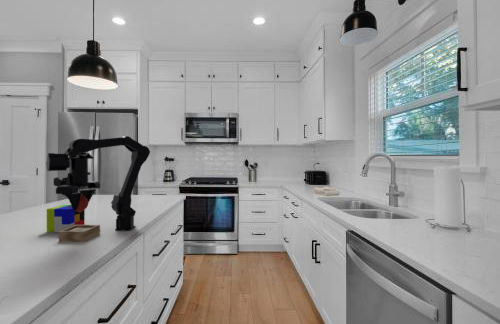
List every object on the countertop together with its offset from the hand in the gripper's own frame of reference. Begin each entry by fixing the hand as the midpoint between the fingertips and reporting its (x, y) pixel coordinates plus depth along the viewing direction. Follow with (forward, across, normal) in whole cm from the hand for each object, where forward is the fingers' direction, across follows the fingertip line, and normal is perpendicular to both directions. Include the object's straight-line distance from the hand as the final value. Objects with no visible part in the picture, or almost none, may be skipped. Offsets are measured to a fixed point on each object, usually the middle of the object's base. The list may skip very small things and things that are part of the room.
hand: (80, 208), depth 104 cm
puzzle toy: (+12, -13, -15) cm, 23 cm away
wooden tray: (+12, 0, 0) cm, 12 cm away
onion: (+2, 0, 0) cm, 2 cm away
